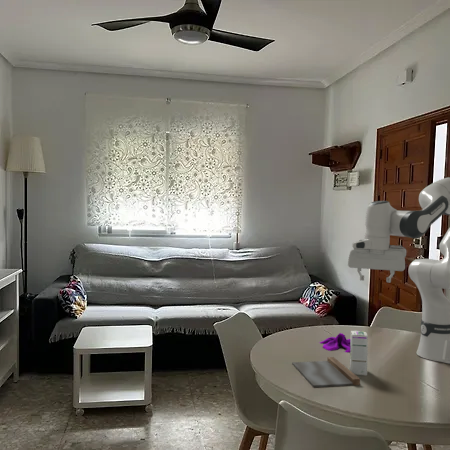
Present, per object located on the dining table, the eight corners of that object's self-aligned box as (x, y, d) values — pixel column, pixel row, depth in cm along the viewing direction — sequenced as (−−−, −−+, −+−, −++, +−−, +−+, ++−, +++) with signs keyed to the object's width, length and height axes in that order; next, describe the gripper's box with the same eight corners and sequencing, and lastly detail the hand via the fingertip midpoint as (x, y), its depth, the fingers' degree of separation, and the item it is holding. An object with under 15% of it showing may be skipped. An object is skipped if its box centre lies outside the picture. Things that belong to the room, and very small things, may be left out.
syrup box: (367, 375, 161) (368, 335, 161) (350, 374, 162) (351, 334, 162) (365, 370, 167) (367, 331, 166) (349, 368, 168) (350, 330, 167)
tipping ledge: (333, 362, 175) (333, 357, 174) (359, 384, 153) (360, 378, 153) (292, 363, 172) (292, 358, 172) (313, 387, 150) (313, 381, 150)
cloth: (363, 342, 203) (363, 328, 203) (366, 355, 185) (367, 340, 184) (312, 338, 208) (312, 325, 207) (311, 350, 190) (311, 336, 189)
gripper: (405, 245, 169) (404, 282, 170) (349, 242, 175) (347, 278, 175) (407, 246, 163) (405, 284, 163) (348, 243, 169) (347, 280, 169)
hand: (375, 281), depth 169 cm, fingers open, 8 cm apart
